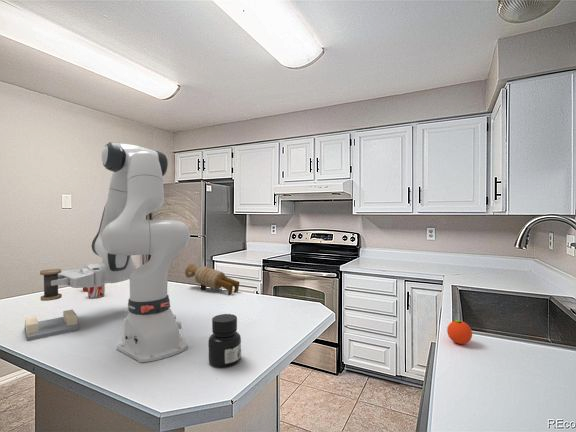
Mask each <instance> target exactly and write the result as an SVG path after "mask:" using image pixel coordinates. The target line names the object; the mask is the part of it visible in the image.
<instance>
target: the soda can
mask: <svg viewBox="0 0 576 432" xmlns="http://www.w3.org/2000/svg"><path fill="white" fill-rule="evenodd" d="M105 286H106V284H104V285H101V286H100V287H89V288H88V292H87V296H88V298H90V299H97V298H98V297H99V298H102V297H104V296H105V293H106V292H105V290H106V289H105ZM99 298H98V299H99Z"/></svg>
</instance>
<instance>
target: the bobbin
mask: <svg viewBox="0 0 576 432" xmlns="http://www.w3.org/2000/svg"><path fill="white" fill-rule="evenodd" d="M61 271H62V269H61V268H50V269H44V270H40V271H39V275H40V276H43V295H41V296H40V301H43V302H47V301H48V302H49V301H55V300H58V299H59V300H60V299H61V298H63V297H62V296H63V295H62V293H59V285H54V286H52V285H50V281H51V280H58V273H61Z"/></svg>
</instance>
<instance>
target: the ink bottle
mask: <svg viewBox="0 0 576 432" xmlns="http://www.w3.org/2000/svg"><path fill="white" fill-rule="evenodd" d="M211 323H212V324H211V329H212V331H211V332H212V334H210V336H209V338H208V341H207V343H208V344H207V345H208V364H210V365H211V366H213V367H216V368H229V367H233V366H235V365H236V364H238V363H239V362H240V361H241V358H242V338H241V335H240V333H239V332H238V331H237V330H238V317H237V315H235V314H231V313H224V314H217V315H215V316H213V317H212V318H211Z"/></svg>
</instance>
